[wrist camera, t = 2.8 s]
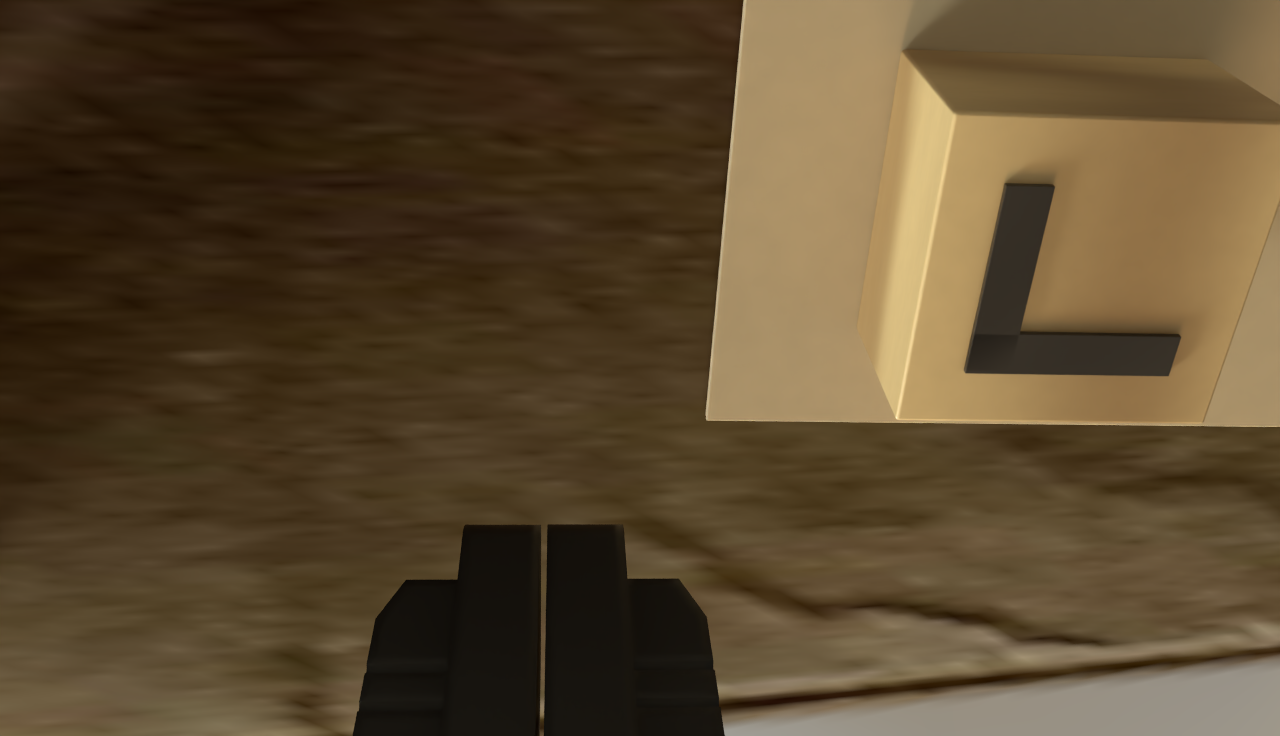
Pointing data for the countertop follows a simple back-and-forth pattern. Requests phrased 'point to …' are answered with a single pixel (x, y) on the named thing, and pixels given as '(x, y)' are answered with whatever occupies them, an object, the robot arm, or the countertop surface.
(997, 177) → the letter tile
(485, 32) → the countertop surface
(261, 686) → the countertop surface
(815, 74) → the runner
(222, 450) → the countertop surface
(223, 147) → the countertop surface
